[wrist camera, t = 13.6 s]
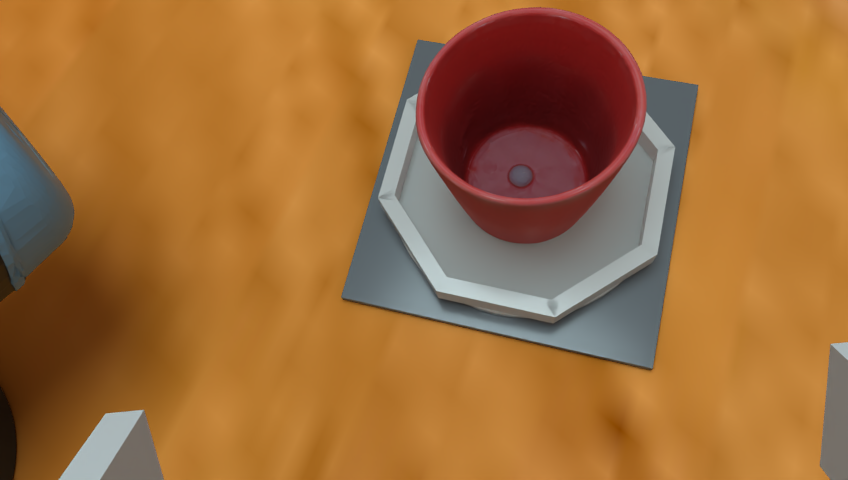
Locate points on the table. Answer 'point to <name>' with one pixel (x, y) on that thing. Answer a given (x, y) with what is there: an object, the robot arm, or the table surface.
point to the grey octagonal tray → (529, 263)
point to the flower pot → (530, 119)
